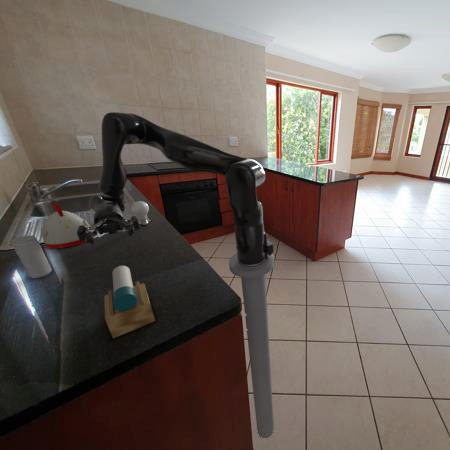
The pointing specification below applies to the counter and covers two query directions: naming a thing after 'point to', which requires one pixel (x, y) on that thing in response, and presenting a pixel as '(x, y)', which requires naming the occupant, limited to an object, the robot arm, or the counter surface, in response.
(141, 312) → the cradle
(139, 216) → the lightbulb
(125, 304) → the marker
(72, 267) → the counter surface
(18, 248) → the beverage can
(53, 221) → the kitchen timer
